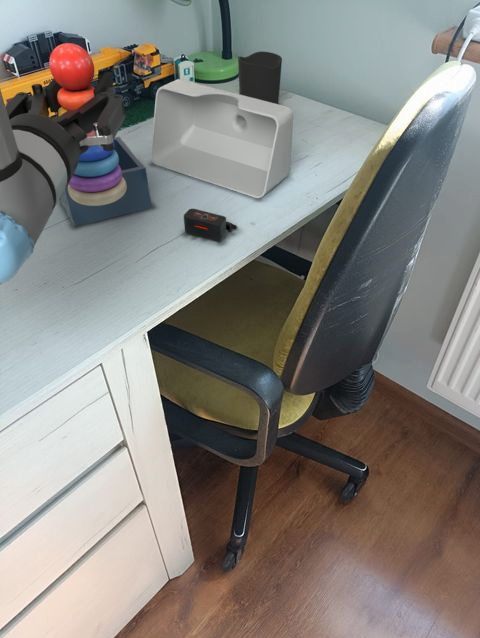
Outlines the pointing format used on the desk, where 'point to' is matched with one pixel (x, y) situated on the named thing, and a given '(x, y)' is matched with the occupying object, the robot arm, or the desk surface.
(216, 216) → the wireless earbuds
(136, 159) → the square holder
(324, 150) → the desk surface
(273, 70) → the pen holder
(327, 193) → the desk surface
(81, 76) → the stacking toy
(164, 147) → the light grey open box
